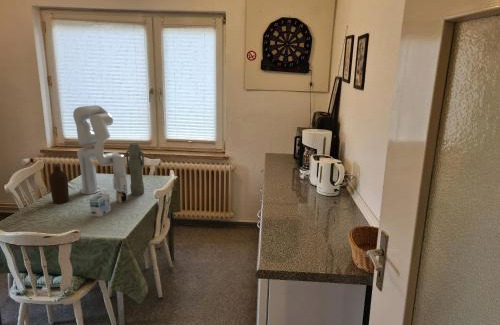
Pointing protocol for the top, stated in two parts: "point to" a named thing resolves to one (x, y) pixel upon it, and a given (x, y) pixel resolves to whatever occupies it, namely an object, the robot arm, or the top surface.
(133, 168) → the thermos
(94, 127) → the robot arm
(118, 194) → the beech block
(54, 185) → the olive oil
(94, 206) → the light bulb box
